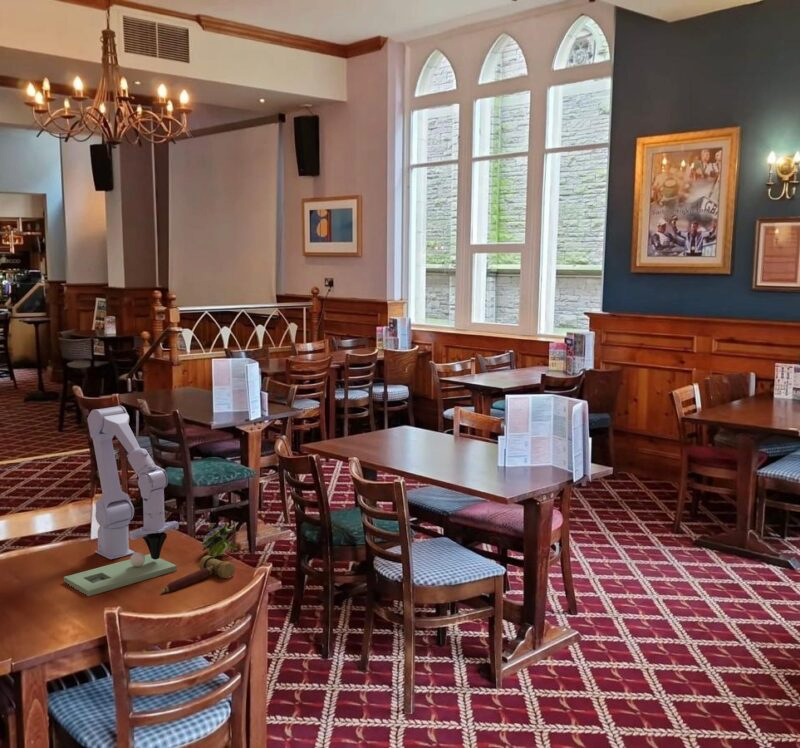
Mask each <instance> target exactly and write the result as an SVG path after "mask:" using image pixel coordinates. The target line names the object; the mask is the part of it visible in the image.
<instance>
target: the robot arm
mask: <svg viewBox="0 0 800 748" xmlns="http://www.w3.org/2000/svg"><path fill="white" fill-rule="evenodd" d="M86 420H87V425H88V430H89V435H90V438H91V439H92V442H93V447H94V454H95V460H96V464H97V472H98V476H99V480H100V487H101V492H102V495H101V496H100V497H99V498H98V499H97V500H96V502H95V503H94V505H95V515H94V516H95V520H96V522H97V524H98V525H99V527H98V529H97V550H94V551H95V553H96V554H98V555H100V556H102V557H104V558H106V559H108V560H113V559H118V558H123V557H126V556H131V555H133V554H134V553H136V552H135V551H134V550H132V549H130V544H129V543H130V542H129V539H130V540H132V541H134V540H137V539H140V538H142V539H143V540H144V542H145V544H146V546H147V547H148V550H149V554H151V558H152V559H154V560H156V559H159V558H160V556H161V551H162V547H163V546H164V543H165V541H166V540H167V537H168V534H167V533H166V532H167V531H172V530H178V529H179V528H180V527H179V526H180V525H179V522H178V521H176V520H173V521H167V522H166V521H165V520H166V519H165V518H166V517H165V493H164V492H165V488H166V487H167V486H168V483H169V478H168V474H167V472H166V470H165V469H164V468H162V467H160V466H159V465H156V463H155V462H154V460H153V458H152V457H151V455H150V454H149V452H148V451H147V449H146V448H142V447H141V446H140V445H139V442H138V440H137V438H136V436H135V434H134V432H133V431H132V429H131V427H130V425H129V423H130V415H129V413H128V412H127V409H126V407H124V406H123V405H117V406H112V407H111V406H110V407H105V408H99V409H97V408H96V409H92V410H91V411H90V412H89V415H88V417H87V419H86ZM114 437H116V439H117V440H118V441H119V443H120V444H121V445H122V446H123V448H124V449H125V450H126V452H127V453H128V457H127V461H128V463H129V465H131V468H132V469H133V471H134V472H135V474H136V475H137V477H138V480H137V485H138V486H137V487H138V488H139V491H140V496H141V498H142V509H143V511H142V512H143V513H142V514H143V515H142V517H143V526H142V527H140V528H137V529H135V530H132V531H129V524H131V520H133V517H134V514H135V508H134V505H133V503H132V501H131V498H130V495H129V494H127V493H126V492H124V491H122V489H121V488H122V487H121V482H120V477H119V472H118V465H117V460H116V455H115V450H114V444H113V438H114Z"/></svg>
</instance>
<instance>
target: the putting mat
mask: <svg viewBox="0 0 800 748" xmlns="http://www.w3.org/2000/svg"><path fill="white" fill-rule="evenodd" d="M143 555H144V554H143ZM144 556H145V562H144V564H143V565H142V566H140V567H135V566H133V565H132V564H131V562H130V558H129V559H126V560H122V561H118V562H115V563H112V564H107V565H103V566H99V567H97V568H93V569H87V570H85V571H81V572H76V573H73V574H70V575H66V576H63V583H64V582H66V583H67V584H66V583H65V584H66V585H68V584H69V585H68V586H70V587H71V586H72V587H71V588H73V587H74V588H73V589H75V590H77V591H78V590H79V591H78V592H80V593H82V594H83V593H84V594H83V595H85V594H86V595H85V596H87V597H90V596H95V595H98V594H101V593H104V592H109V591H111V590H115V589H118V588H122V587H124V586H128V585H132V584H135V583H139V582H142V581H146V580H149V579H153V578H156V577H159V576H162V575H166V574H169V573H174V572H176V571H178V570H177V567H178V566H177V565H176V564H174V563H172V562H169V561H167V560H166V559H163V558H162V557H159V559H156V560H154V559H152V558H151V554H150V553H148V554H145V555H144Z"/></svg>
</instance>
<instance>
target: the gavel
mask: <svg viewBox="0 0 800 748" xmlns="http://www.w3.org/2000/svg"><path fill="white" fill-rule="evenodd" d="M235 572H236V567H235V564H234V563H233V562H229V561H223V560H220V559H217V558H216V557H215V558H214V557H212V555H211V556H208V555H205V556H203V557H202V558H201V560H200V561H199V570H196V571H195V572H191V573H189V574H187V575H185V576H183V577H180V578H178V579H175V580H173V581H171V582H169V583H168V584H167V585H165V586H164V587H163V588H162V589H160V590H161V591H160V593H162V594H164V593H171V592H175V591H178V590H180V589H183V588H185V587H187V586H190V585H192V584H194V583H196V582H199V581H200V580H203V579H206V578H207V577H208V576H210V575H216V576H217V577H219V578H221V579H223V578H227V577H229V576H232V575H233V576H234V575H235ZM233 576H232V577H233Z"/></svg>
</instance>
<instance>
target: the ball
mask: <svg viewBox="0 0 800 748" xmlns="http://www.w3.org/2000/svg"><path fill="white" fill-rule="evenodd" d="M129 559H130V562H131V564H132V565H133V566H135V567H140V566H142V565H143V564H144V562H145V556H144V554H143V553H142V552H135V553H134V554H131V555H130V558H129Z"/></svg>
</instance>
